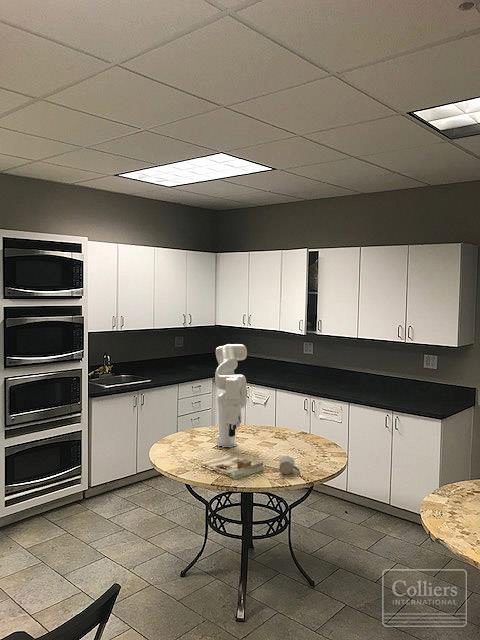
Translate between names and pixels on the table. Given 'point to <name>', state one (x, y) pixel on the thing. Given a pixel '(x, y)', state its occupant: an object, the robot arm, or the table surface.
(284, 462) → the ceramic mug
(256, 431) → the table surface
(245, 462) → the walnut block
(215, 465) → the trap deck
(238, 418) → the robot arm
